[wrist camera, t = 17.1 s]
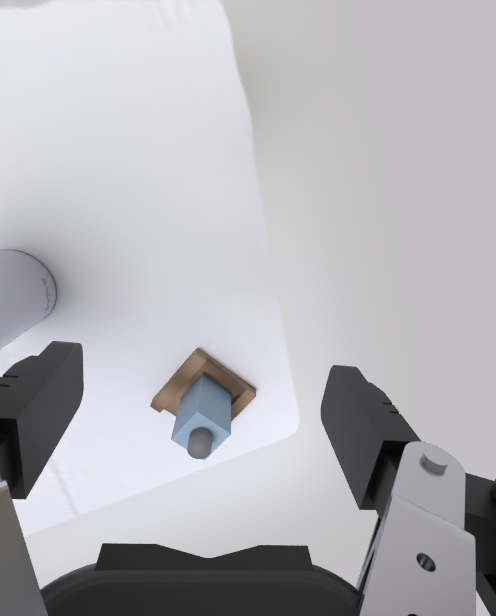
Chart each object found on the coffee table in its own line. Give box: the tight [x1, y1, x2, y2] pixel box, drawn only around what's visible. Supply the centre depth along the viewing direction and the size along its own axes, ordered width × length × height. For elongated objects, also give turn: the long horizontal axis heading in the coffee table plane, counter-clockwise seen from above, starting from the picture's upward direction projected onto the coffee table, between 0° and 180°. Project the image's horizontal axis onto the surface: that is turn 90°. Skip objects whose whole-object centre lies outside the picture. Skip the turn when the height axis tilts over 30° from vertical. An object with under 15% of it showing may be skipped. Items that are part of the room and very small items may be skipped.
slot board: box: [150, 348, 256, 421], centre depth 47 cm, size 10×10×2 cm
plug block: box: [171, 372, 231, 460], centre depth 42 cm, size 5×5×10 cm
